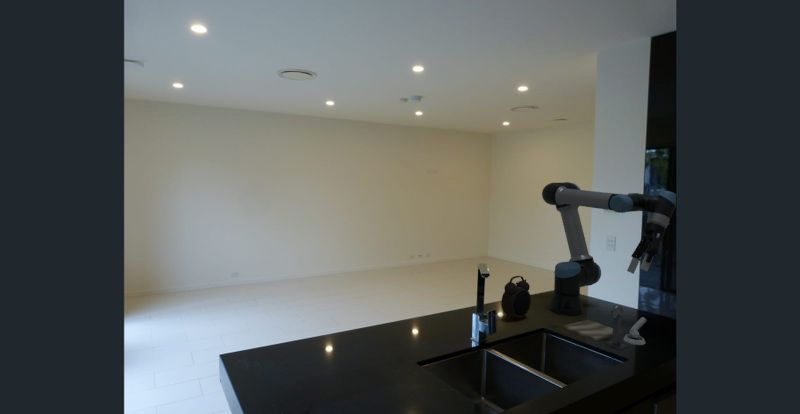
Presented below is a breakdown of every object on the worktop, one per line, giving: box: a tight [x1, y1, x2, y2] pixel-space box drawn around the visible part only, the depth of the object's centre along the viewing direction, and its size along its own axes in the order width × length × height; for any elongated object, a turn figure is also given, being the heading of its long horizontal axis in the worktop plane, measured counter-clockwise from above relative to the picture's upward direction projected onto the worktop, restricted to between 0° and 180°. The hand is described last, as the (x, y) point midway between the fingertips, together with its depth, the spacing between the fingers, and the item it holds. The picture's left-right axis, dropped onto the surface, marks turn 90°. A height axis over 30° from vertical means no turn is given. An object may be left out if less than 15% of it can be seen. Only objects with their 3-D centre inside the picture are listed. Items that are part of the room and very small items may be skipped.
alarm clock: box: [501, 275, 532, 322], centre depth 188 cm, size 14×7×20 cm, turn 123°
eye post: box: [605, 304, 628, 350], centre depth 157 cm, size 6×5×16 cm
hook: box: [623, 316, 647, 346], centre depth 161 cm, size 8×12×7 cm
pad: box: [562, 319, 623, 342], centre depth 173 cm, size 16×16×1 cm
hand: (636, 271), depth 168 cm, fingers open, 13 cm apart
